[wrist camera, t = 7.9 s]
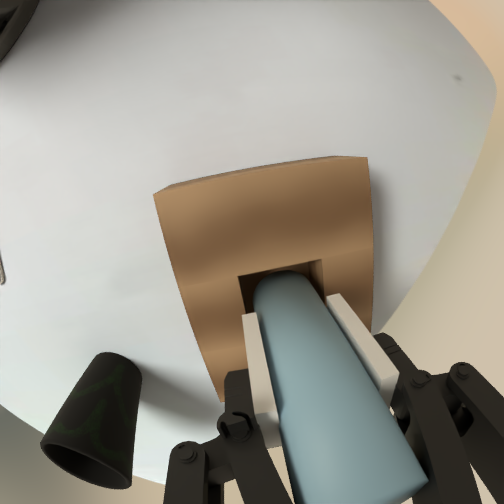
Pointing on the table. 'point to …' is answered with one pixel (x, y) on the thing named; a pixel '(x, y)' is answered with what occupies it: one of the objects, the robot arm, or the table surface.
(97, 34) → the table surface
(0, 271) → the smartphone
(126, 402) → the cup
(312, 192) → the bore block
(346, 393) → the pin
